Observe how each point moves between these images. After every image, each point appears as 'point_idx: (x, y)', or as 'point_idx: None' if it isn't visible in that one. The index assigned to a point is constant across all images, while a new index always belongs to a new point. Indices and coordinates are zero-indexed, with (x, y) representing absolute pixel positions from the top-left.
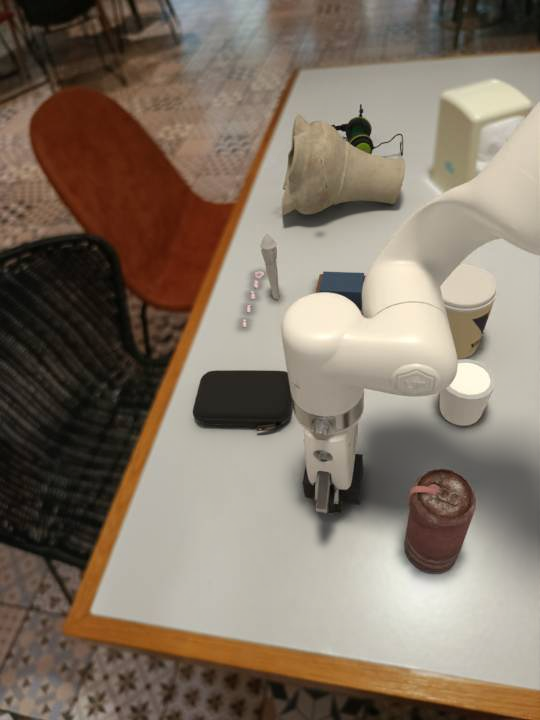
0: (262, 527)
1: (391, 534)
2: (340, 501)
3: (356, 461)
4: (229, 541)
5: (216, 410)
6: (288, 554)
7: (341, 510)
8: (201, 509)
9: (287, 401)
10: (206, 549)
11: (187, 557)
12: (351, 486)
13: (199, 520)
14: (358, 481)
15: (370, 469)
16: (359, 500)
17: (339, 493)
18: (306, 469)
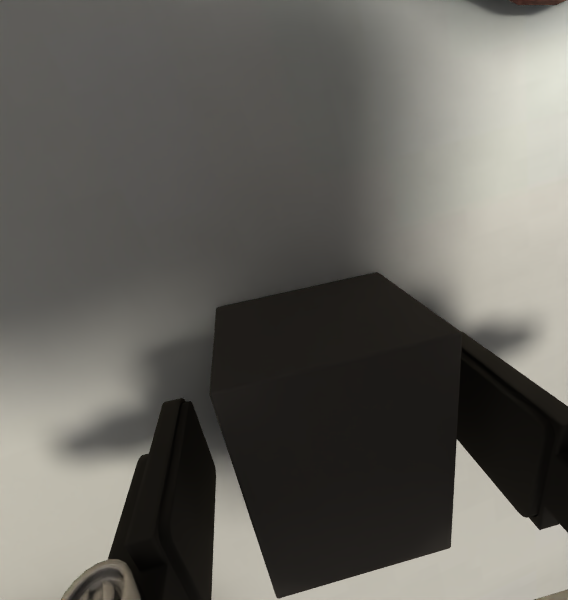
0: (491, 486)
1: (485, 94)
2: (546, 395)
3: (275, 408)
4: (529, 523)
5: None
6: None
7: (470, 339)
8: (460, 595)
9: None
10: (548, 546)
11: (564, 561)
12: (446, 375)
13: (485, 585)
14: (410, 353)
15: (198, 278)
16: (375, 279)
17: (542, 432)
18: (388, 563)
